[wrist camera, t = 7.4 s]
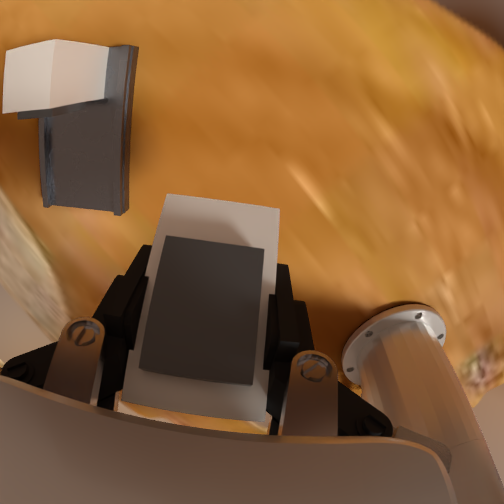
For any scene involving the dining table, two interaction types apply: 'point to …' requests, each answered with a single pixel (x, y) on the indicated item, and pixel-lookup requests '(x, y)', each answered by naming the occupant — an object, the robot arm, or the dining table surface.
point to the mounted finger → (53, 78)
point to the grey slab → (92, 144)
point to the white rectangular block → (206, 310)
